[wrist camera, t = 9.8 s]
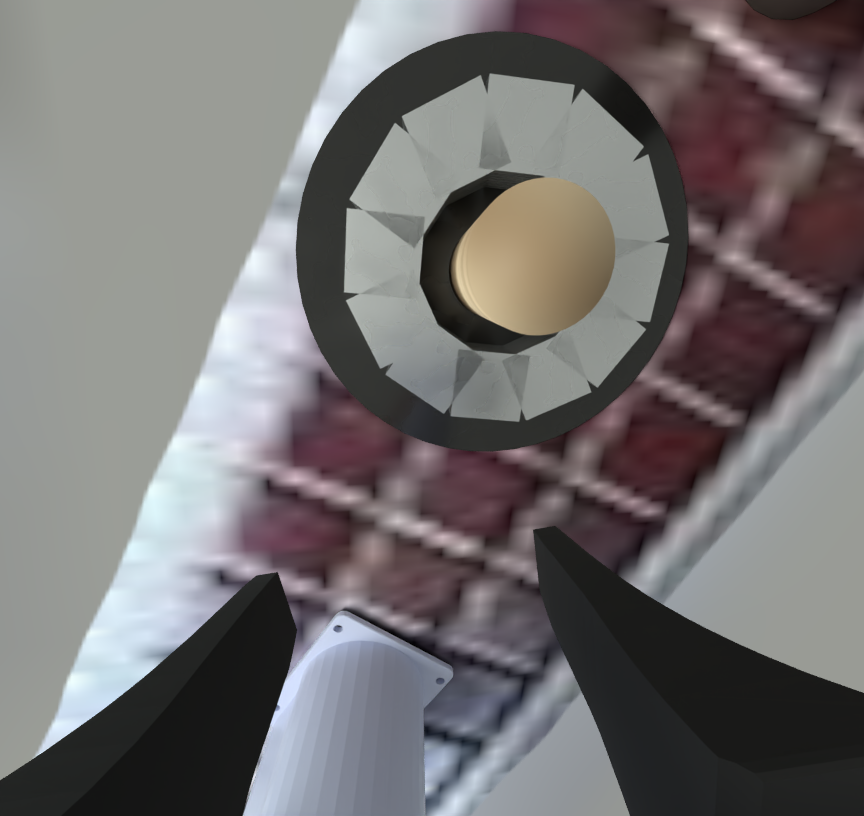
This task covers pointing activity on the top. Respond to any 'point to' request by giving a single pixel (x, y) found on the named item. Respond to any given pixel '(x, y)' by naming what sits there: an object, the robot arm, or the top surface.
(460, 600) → the top surface
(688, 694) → the robot arm
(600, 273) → the peg
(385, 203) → the rosette
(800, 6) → the coffee cup
